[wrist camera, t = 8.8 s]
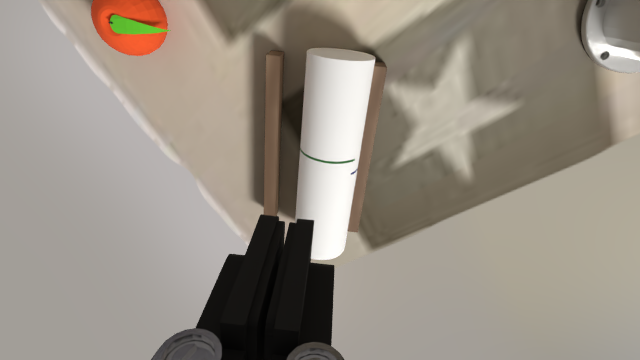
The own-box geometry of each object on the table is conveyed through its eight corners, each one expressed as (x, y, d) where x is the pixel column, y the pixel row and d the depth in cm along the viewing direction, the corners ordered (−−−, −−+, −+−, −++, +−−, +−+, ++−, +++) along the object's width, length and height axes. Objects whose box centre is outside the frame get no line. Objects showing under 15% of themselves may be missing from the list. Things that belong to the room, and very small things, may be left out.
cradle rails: (384, 62, 40) (387, 67, 37) (356, 219, 50) (357, 232, 48) (271, 50, 40) (266, 54, 37) (267, 209, 50) (263, 221, 48)
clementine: (187, -9, 37) (156, -9, 31) (188, 57, 41) (159, 69, 34) (113, -24, 37) (66, -27, 31) (119, 44, 40) (79, 53, 34)
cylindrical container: (328, 45, 40) (311, 220, 52) (293, 51, 35) (283, 245, 47) (385, 56, 37) (353, 239, 49) (357, 64, 32) (329, 267, 44)
